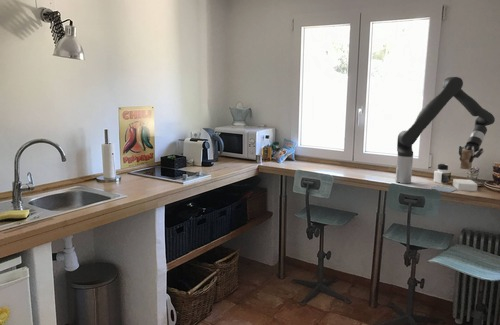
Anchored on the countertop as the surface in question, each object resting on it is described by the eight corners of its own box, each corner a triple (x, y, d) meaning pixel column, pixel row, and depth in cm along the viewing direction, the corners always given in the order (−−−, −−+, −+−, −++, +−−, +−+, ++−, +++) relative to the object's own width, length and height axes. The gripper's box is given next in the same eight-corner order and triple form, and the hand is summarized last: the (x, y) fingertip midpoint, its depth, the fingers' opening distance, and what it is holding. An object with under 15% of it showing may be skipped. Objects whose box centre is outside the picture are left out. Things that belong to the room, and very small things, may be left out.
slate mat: (428, 188, 239) (429, 188, 239) (438, 186, 247) (438, 185, 247) (449, 192, 230) (449, 191, 230) (458, 189, 238) (458, 188, 238)
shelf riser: (458, 190, 237) (458, 183, 236) (452, 185, 250) (453, 178, 249) (476, 191, 234) (477, 184, 233) (470, 186, 247) (470, 179, 247)
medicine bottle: (441, 183, 253) (442, 165, 252) (433, 181, 260) (434, 163, 258) (450, 183, 255) (452, 164, 254) (442, 181, 262) (443, 163, 260)
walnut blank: (460, 168, 240) (462, 150, 239) (463, 167, 243) (465, 149, 241) (468, 169, 237) (470, 151, 235) (471, 168, 240) (473, 150, 238)
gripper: (462, 134, 247) (451, 155, 241) (487, 136, 236) (476, 158, 231) (464, 142, 251) (454, 163, 246) (489, 145, 241) (479, 166, 235)
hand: (465, 161), depth 238 cm, fingers closed on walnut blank, 4 cm apart
